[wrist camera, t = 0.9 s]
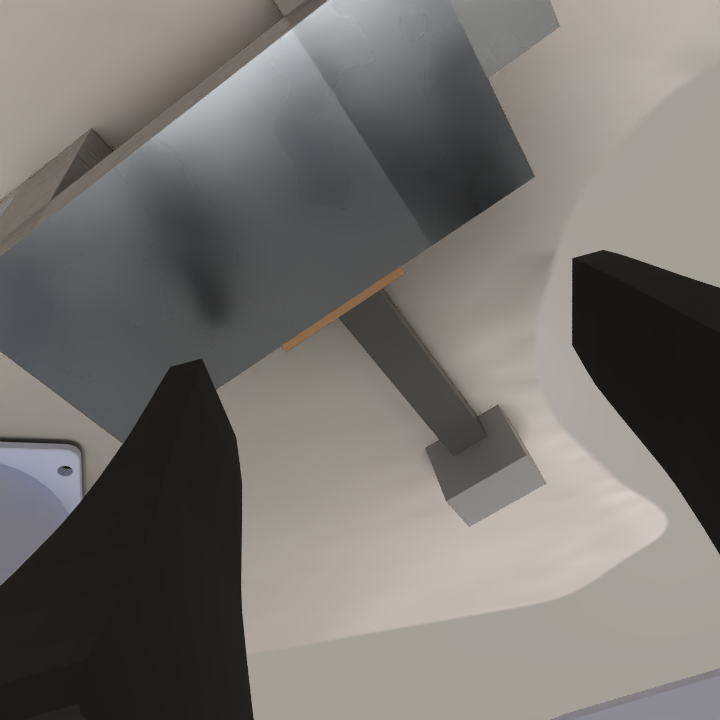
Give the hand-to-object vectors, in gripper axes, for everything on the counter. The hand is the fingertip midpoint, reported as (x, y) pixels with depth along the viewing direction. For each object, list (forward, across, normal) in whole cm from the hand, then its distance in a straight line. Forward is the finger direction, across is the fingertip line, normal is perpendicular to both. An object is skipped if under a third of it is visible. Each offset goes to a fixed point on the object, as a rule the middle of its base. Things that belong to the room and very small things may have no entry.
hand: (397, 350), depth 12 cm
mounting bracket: (+9, +2, -2) cm, 10 cm away
